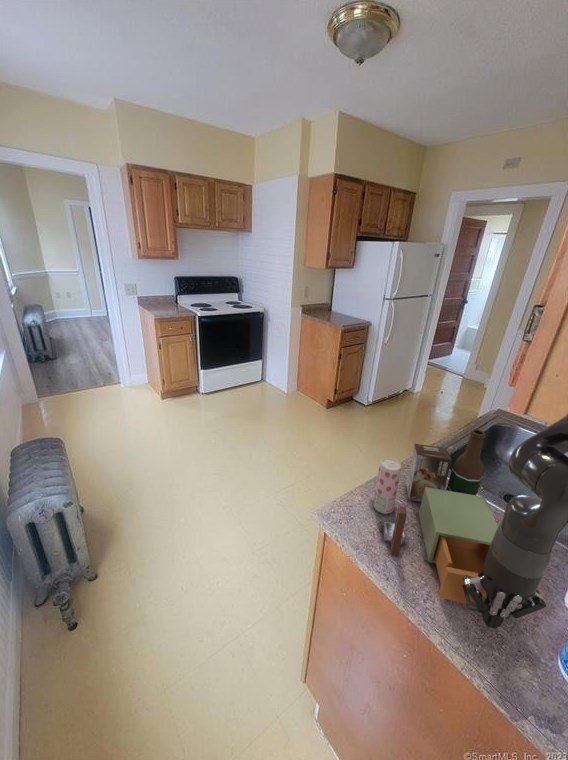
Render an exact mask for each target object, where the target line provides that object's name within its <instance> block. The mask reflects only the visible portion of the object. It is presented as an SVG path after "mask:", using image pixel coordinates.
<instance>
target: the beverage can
mask: <svg viewBox="0 0 568 760" xmlns="http://www.w3.org/2000/svg"><path fill="white" fill-rule="evenodd" d="M401 472H402V465H401V463H400V462H399V461H398V460H395V459H394V458H389V457H387V458H383V459H382V460H381V461H380V463H379V466H378V472H377V479H376V485H375V490H374V496H373V501H372V505H373V508H374V509H375V510H376V511H377V512H379V513H381V514H384V515H385V514H386V515H387V514H390V513H392V512H393V511H394V508H395V503H396V498H397V493H398V488H399V483H400V478H401V474H402V473H401Z"/></svg>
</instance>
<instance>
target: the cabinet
mask: <svg viewBox="0 0 568 760" xmlns="http://www.w3.org/2000/svg"><path fill="white" fill-rule="evenodd" d="M418 517H419V523H420V528H421V531H422V537H423V541H424V546H425V547H424V548H425V552H426V557H427V562H428V563H431V564H435V565H436V561H435V556H434V553H435V549H436V546H437V542H438V538H439V535H441V536H446V537H451V538H456V539H461V540H467V541H472V542H477V543H482V544H487V545H491V541H492V540H493V537H494V534H495V532H496V530H497V528H498V527H499V524H498V523H497V520H496V518H495V517H494V514H493V512H492V511H491V508H490V506H489V504H488V502H487V499H486V497H485V496H481V495H470V494H464V493H458V492H452V491H446V489H445V490H440V489H434V488H428V487H425V490H424V494H423V498H422V502H420V507H419V511H418Z"/></svg>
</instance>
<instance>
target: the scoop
mask: <svg viewBox="0 0 568 760" xmlns="http://www.w3.org/2000/svg"><path fill="white" fill-rule="evenodd" d="M396 511H397V512H396V517H395V521H394V522H390V521H384V523H383V528H382V529H383V541H384V542H389V543H390V554H391V555H395V556H399V552H400V548H401V545H404V541H405V530H404V529H405V526H406V520H407V517H408V516H407V515H408V513H407V507H406V506H403V505H398V508H397V510H396Z"/></svg>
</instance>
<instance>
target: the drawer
mask: <svg viewBox="0 0 568 760" xmlns="http://www.w3.org/2000/svg"><path fill="white" fill-rule="evenodd" d="M489 548H490V545H487V544H482V543H477V542H472V541H467V540H461V539H456V538H451V537H446V536H441V535H439V538H438V542H437V546H436V549H435V553H434V556H435V561H436V564H435V565H436V570H437V574H438V579H439V583H440V587H439V591H438V595H439V598H440V599H443V600H448V601H453V602H457V603H461V604H464V605H465V607H466V610H468V611H472V612H476V613H480V614H482V611H483V610H480V608H479V607H478V606H477V604H476V603H475V601H474V600H473V598H472V597H471V596H470V594H469V593H468V591H467V589H466V586H465V583H464V580H463V576H464V575H468V576H470V578H475V577H478V573H479V572H480V571H482V570H483V569H484V563H485V559H486V556H487V554H488V551H489ZM479 591H480V592H481V593H482V595H483V597H486V591H485V590H484V588H483V587H482V585H481V586H480V590H479ZM510 616H511V615H508V617H507V618H504V620H505V619H506V620H509V619H510Z"/></svg>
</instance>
